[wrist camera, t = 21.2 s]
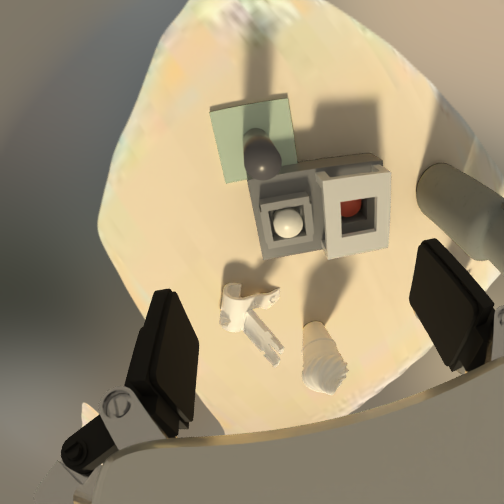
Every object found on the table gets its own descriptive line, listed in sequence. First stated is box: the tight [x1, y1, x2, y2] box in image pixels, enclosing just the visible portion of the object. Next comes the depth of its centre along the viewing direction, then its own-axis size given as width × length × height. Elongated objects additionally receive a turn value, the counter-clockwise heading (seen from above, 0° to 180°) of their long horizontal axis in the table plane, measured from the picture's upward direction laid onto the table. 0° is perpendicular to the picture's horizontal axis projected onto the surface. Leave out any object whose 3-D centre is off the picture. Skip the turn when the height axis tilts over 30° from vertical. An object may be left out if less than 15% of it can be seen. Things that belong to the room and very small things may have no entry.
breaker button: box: [340, 199, 361, 217], centre depth 39 cm, size 4×4×3 cm
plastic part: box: [220, 283, 284, 368], centre depth 46 cm, size 8×10×12 cm
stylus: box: [243, 128, 282, 181], centre depth 30 cm, size 3×3×12 cm
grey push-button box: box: [246, 153, 391, 260], centre depth 38 cm, size 18×12×7 cm, turn 100°
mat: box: [209, 98, 298, 184], centre depth 36 cm, size 10×10×1 cm
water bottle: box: [417, 163, 504, 275], centre depth 28 cm, size 10×10×28 cm
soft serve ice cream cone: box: [302, 321, 349, 395], centre depth 49 cm, size 8×8×16 cm
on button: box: [273, 207, 303, 238], centre depth 37 cm, size 4×4×2 cm
